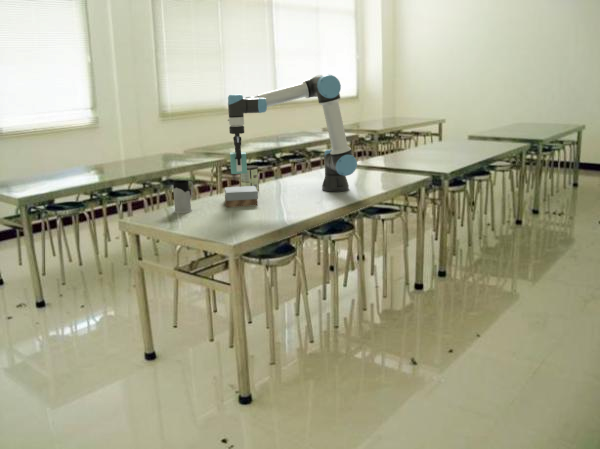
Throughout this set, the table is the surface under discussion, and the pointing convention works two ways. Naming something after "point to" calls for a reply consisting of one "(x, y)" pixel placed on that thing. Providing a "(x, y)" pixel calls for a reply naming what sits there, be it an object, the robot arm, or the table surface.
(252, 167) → the coffee can
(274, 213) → the table surface
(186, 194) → the grey black mug
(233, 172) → the teal block
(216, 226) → the table surface
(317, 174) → the table surface
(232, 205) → the walnut slab
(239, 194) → the grey slab
